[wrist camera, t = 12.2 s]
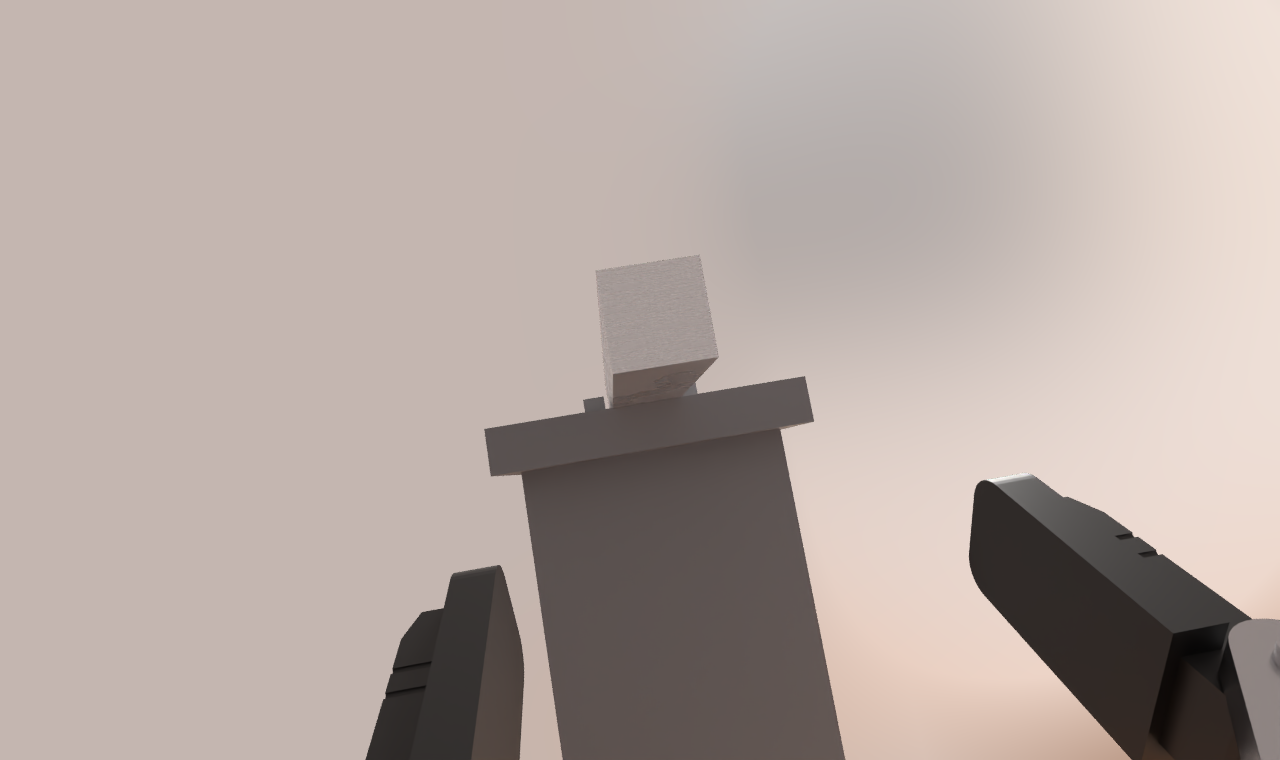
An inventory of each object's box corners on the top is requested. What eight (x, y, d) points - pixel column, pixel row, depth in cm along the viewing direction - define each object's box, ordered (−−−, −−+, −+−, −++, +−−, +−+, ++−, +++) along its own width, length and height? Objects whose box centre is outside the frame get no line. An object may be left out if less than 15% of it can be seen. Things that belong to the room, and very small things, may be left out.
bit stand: (1000, 1205, 24) (822, 350, 29) (578, 1311, 23) (457, 409, 28) (848, 916, 40) (747, 392, 45) (591, 972, 39) (513, 431, 44)
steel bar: (718, 356, 18) (699, 254, 19) (612, 373, 18) (595, 270, 18) (657, 421, 43) (649, 377, 43) (612, 429, 43) (605, 384, 43)
